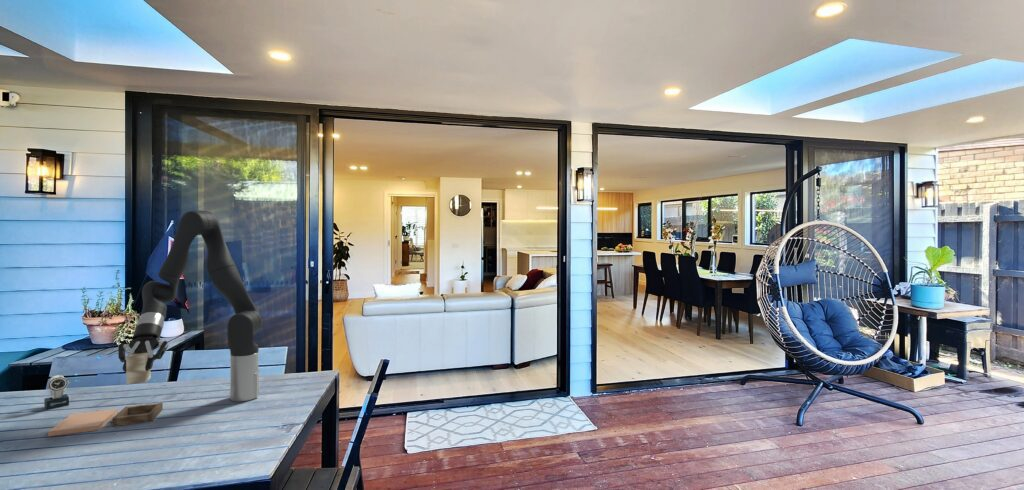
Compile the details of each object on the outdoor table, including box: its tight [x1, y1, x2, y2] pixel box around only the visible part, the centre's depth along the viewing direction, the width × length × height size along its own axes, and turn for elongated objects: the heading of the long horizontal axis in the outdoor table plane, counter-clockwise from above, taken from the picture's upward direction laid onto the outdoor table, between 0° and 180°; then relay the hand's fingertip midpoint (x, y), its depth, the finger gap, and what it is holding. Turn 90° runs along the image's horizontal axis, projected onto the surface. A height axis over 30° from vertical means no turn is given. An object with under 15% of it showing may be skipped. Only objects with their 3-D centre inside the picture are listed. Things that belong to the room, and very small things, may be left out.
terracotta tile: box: [47, 408, 118, 437], centre depth 142 cm, size 12×14×2 cm
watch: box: [43, 374, 70, 411], centre depth 156 cm, size 6×8×11 cm
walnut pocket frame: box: [111, 402, 163, 427], centre depth 148 cm, size 10×10×2 cm
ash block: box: [125, 353, 152, 385], centre depth 148 cm, size 5×5×9 cm
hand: (136, 370), depth 146 cm, fingers closed on ash block, 5 cm apart
